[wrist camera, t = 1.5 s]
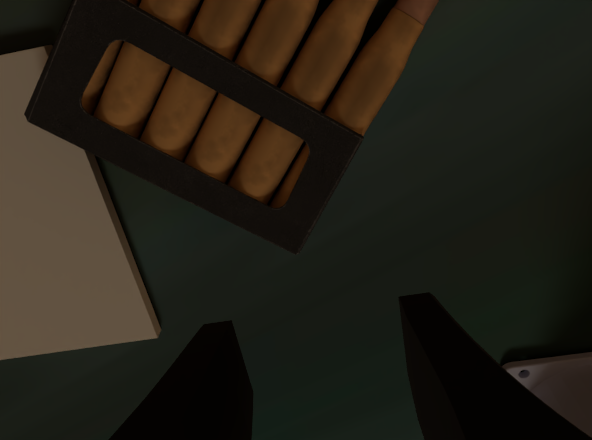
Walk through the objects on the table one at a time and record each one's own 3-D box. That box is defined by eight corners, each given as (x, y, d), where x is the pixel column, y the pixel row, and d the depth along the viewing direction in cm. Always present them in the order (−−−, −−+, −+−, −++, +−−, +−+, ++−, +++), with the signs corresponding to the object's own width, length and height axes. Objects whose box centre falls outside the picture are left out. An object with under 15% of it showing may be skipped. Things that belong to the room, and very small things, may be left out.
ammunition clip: (20, 118, 17) (168, -291, 13) (45, 108, 18) (181, -255, 14) (298, 255, 19) (494, -55, 15) (296, 235, 21) (473, -48, 17)
